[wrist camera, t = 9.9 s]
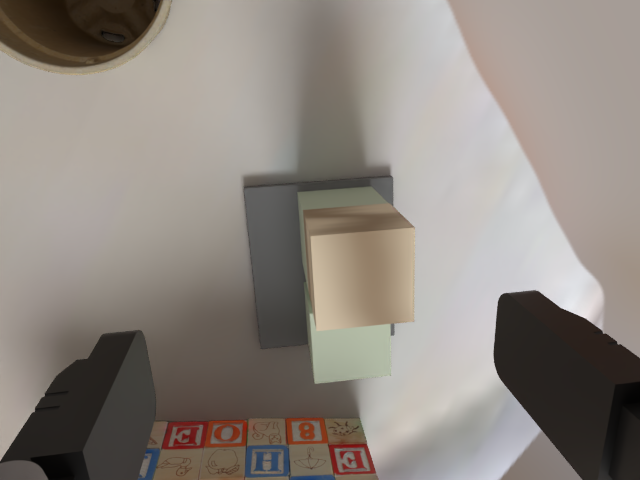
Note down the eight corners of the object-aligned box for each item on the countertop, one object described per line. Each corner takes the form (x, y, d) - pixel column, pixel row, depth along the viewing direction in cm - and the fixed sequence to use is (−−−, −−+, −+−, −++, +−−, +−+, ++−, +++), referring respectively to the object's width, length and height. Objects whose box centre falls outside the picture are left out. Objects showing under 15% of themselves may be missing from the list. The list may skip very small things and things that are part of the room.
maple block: (308, 290, 29) (316, 331, 24) (302, 210, 27) (310, 236, 22) (390, 283, 29) (414, 321, 24) (389, 203, 28) (414, 227, 23)
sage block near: (302, 262, 33) (308, 291, 29) (297, 192, 32) (302, 210, 27) (372, 255, 34) (390, 283, 29) (371, 186, 32) (389, 203, 28)
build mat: (261, 344, 36) (260, 349, 35) (244, 186, 32) (243, 188, 31) (392, 331, 37) (394, 335, 36) (390, 175, 33) (393, 177, 32)
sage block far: (308, 344, 36) (314, 383, 31) (303, 281, 34) (309, 313, 29) (374, 337, 36) (391, 375, 31) (373, 275, 34) (390, 305, 30)
